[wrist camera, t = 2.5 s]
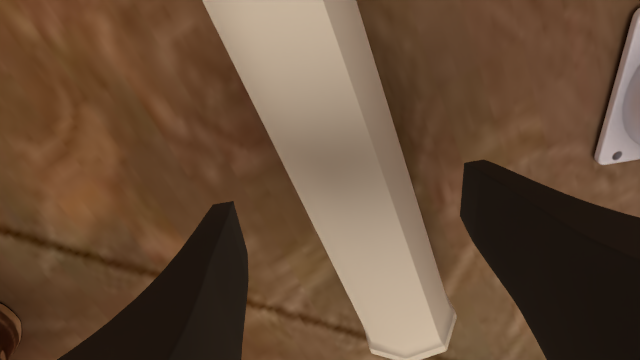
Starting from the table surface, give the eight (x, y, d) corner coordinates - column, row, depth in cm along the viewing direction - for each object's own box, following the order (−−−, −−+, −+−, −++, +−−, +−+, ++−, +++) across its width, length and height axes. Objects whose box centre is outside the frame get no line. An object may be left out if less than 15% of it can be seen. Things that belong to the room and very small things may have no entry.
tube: (30, -234, 9) (359, 365, 22) (224, -392, 7) (461, 363, 20) (149, -200, 14) (368, 287, 26) (292, -296, 12) (453, 279, 24)
